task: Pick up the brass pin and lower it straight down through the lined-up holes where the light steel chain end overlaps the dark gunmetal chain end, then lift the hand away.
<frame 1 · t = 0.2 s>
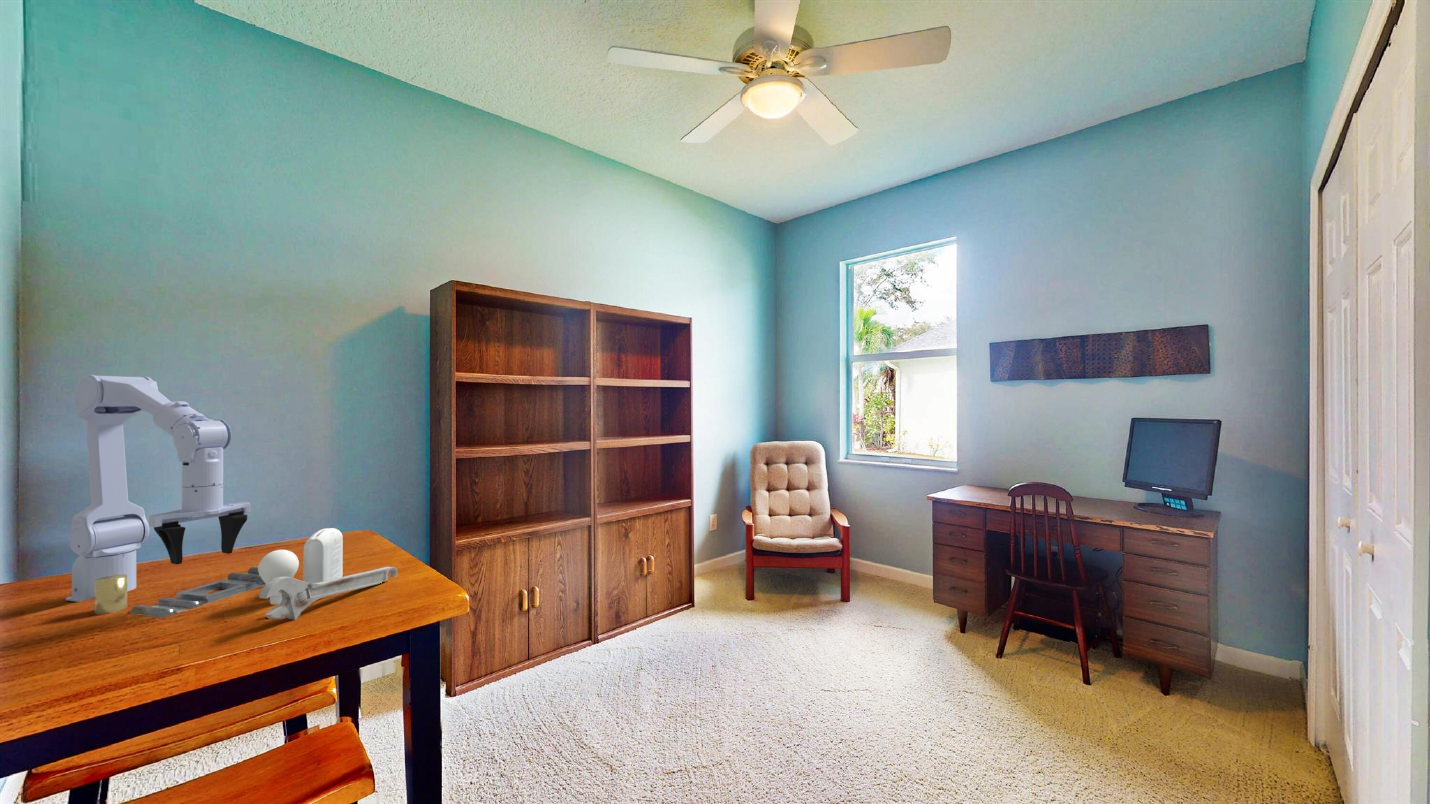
hand: (202, 558, 105), 10 cm above the table, tool pointing down, fingers open, 7 cm apart
brass pin: (111, 616, 102), on the table
gunmetal chain end: (215, 594, 111), on the table
photo printer: (323, 589, 118), on the table
lightbulb: (278, 609, 107), on the table
wrench: (337, 602, 111), on the table
steel chain end: (215, 600, 111), on the table
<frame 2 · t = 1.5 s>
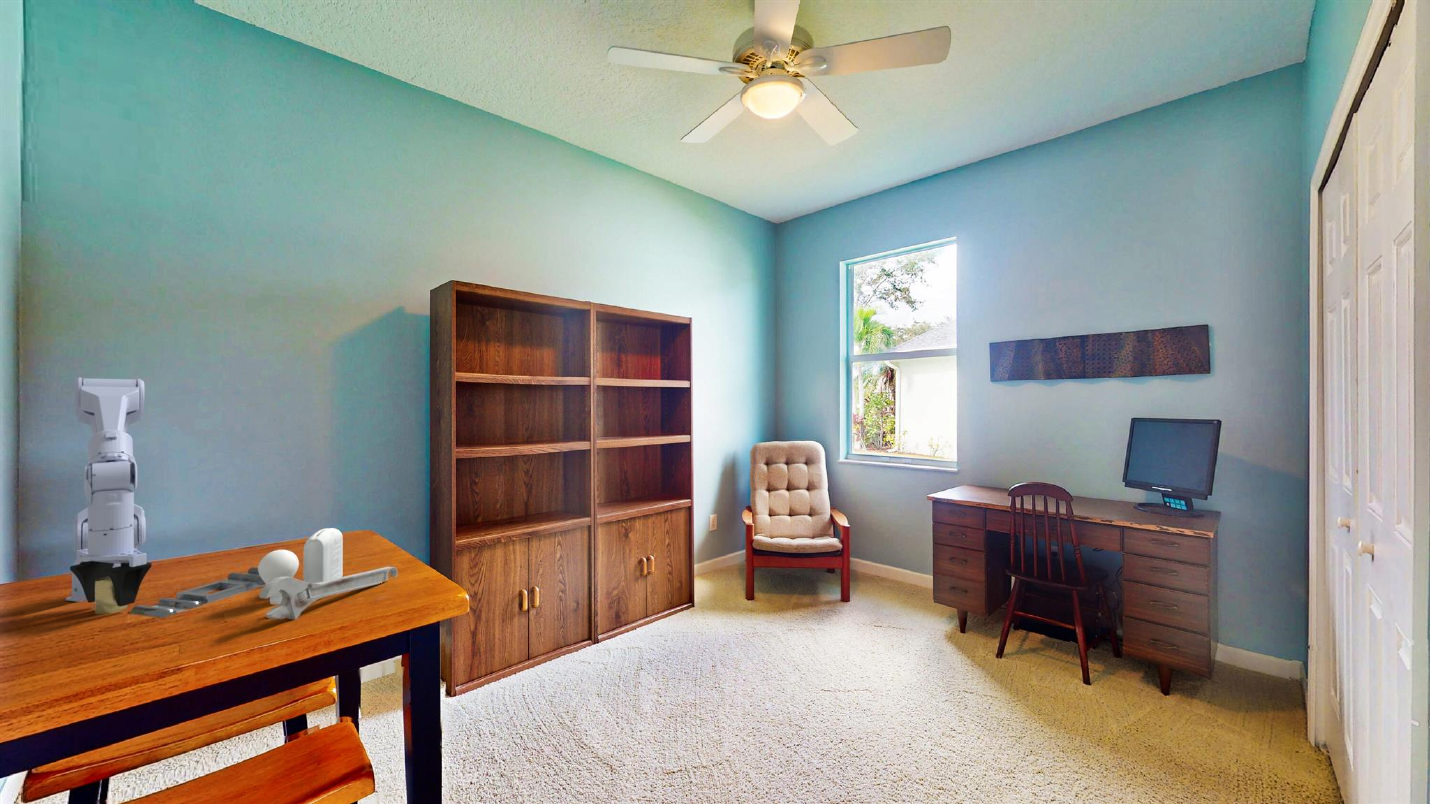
hand: (111, 602, 102), 3 cm above the table, tool pointing down, fingers open, 7 cm apart
nothing on the table moved.
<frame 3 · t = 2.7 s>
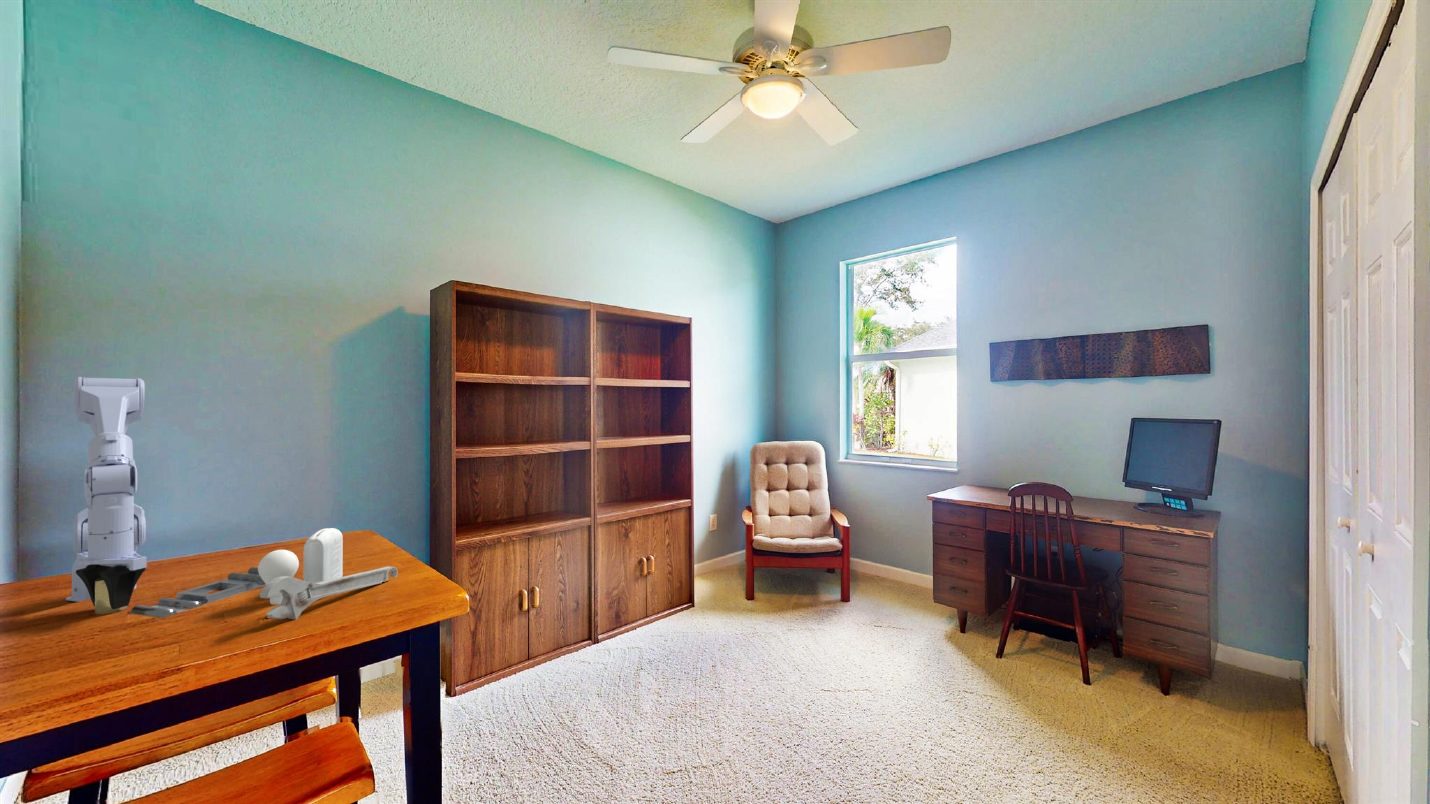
hand: (111, 606, 102), 2 cm above the table, tool pointing down, fingers closed on brass pin, 4 cm apart
brass pin: (111, 616, 102), on the table, touching gripper
everything else where it was.
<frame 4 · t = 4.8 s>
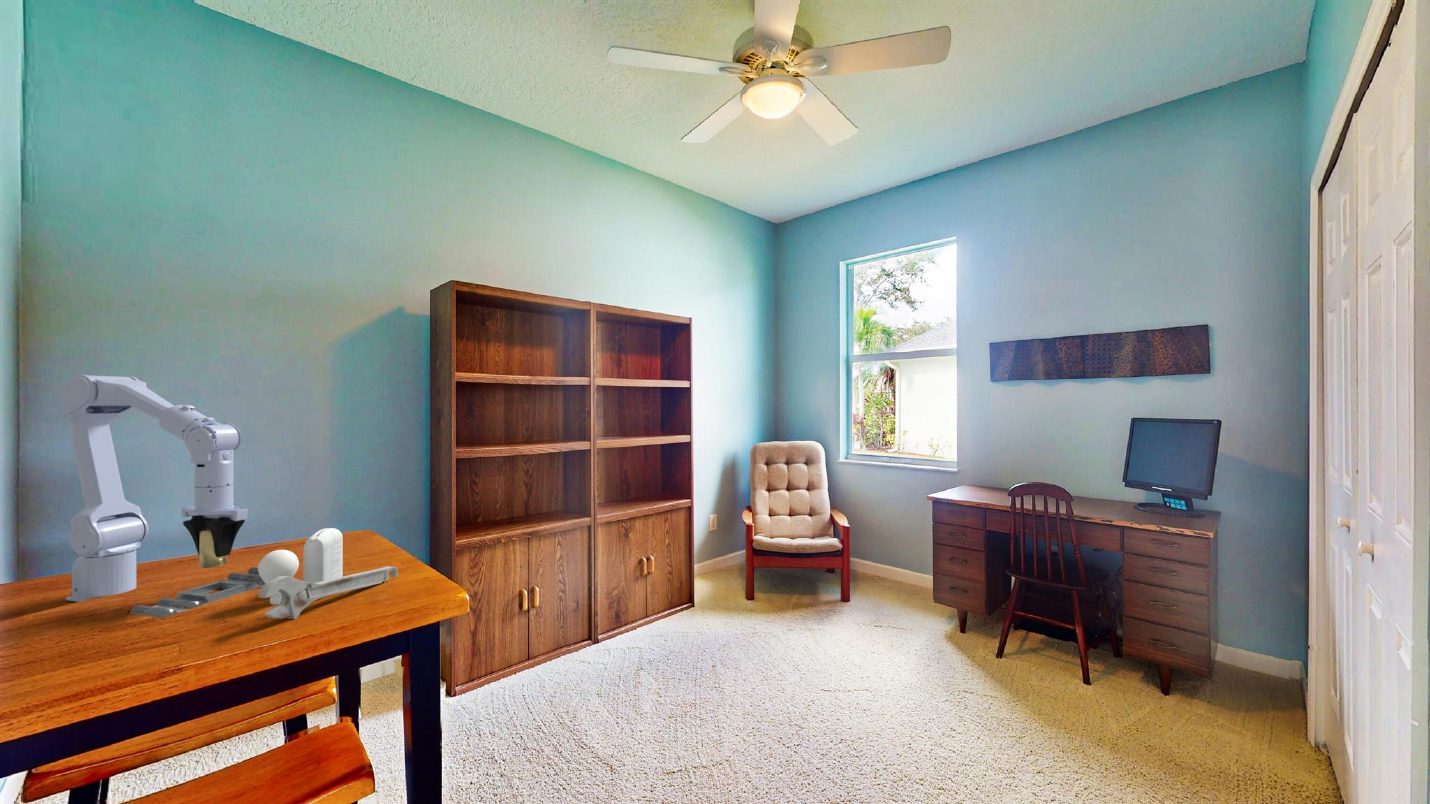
hand: (214, 555, 111), 9 cm above the table, tool pointing down, fingers closed on brass pin, 4 cm apart
brass pin: (213, 565, 110), point 7 cm above the table, touching gripper
everything else where it was.
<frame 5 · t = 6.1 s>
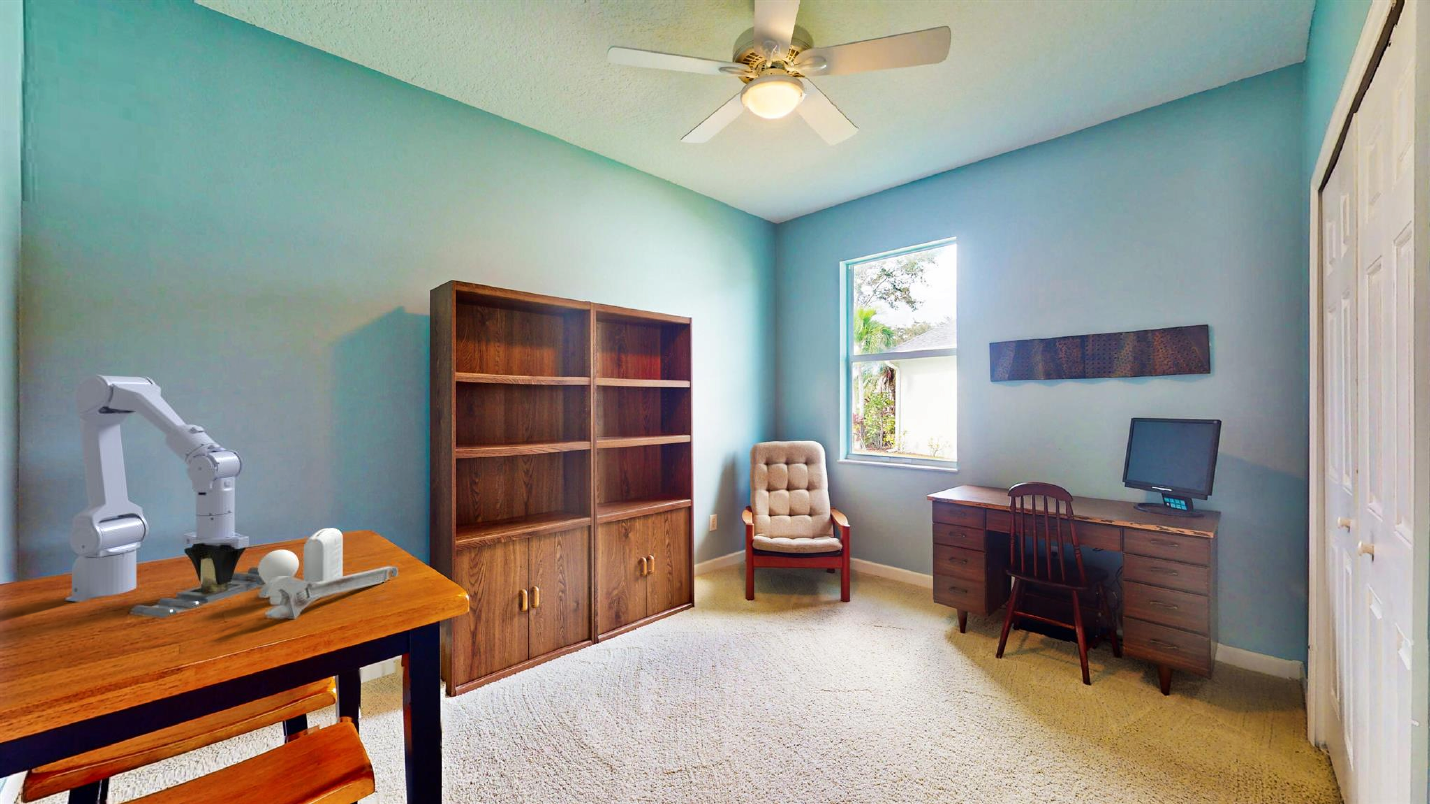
hand: (215, 582, 111), 4 cm above the table, tool pointing down, fingers closed on brass pin, 4 cm apart
brass pin: (214, 592, 111), point 2 cm above the table, touching gripper
everything else where it was.
when the fingers open (3 cm above the table, at t = 7.0 s): brass pin drops 2 cm, resting in gunmetal chain end.
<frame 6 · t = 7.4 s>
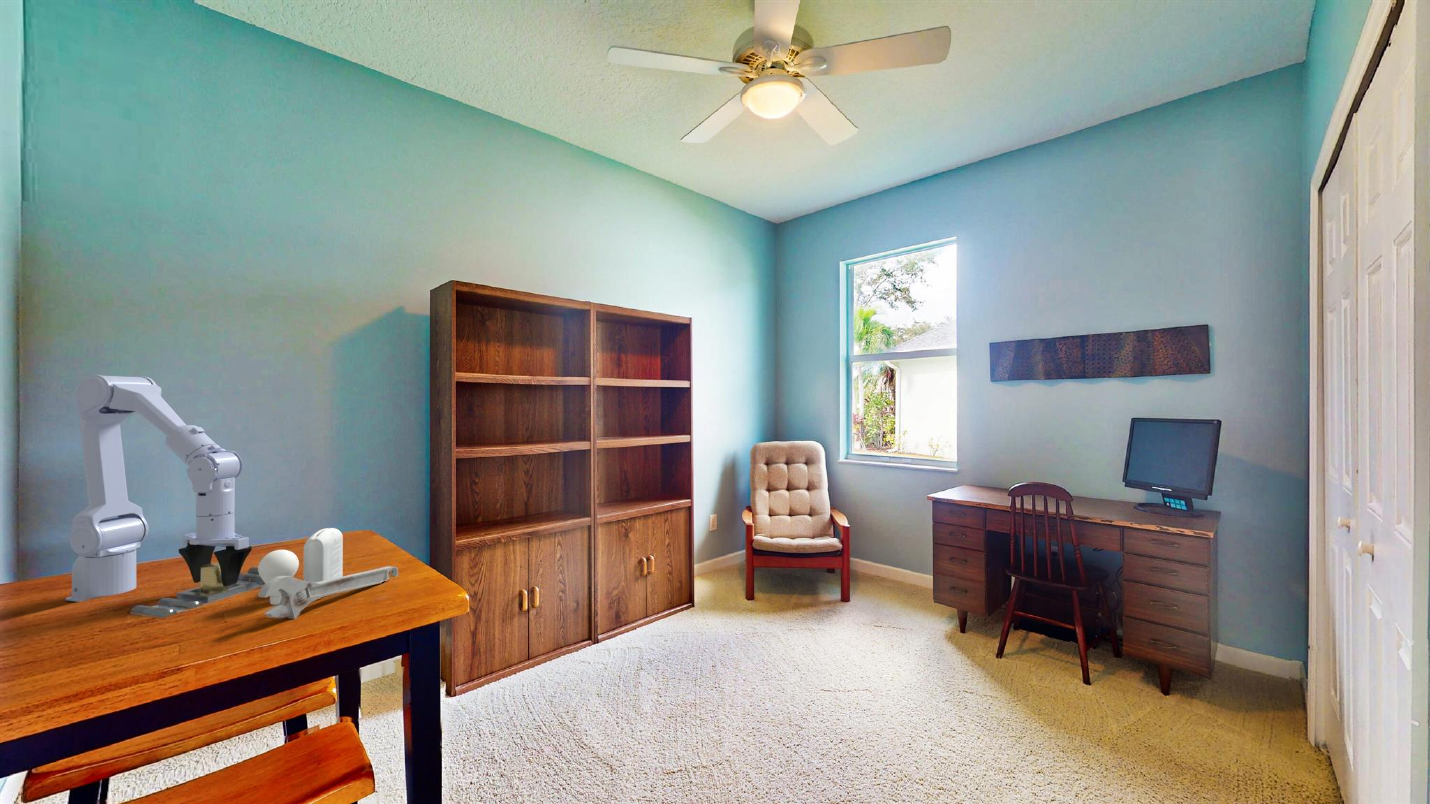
hand: (215, 582, 111), 3 cm above the table, tool pointing down, fingers open, 7 cm apart
brass pin: (214, 600, 111), resting in gunmetal chain end
everything else where it was.
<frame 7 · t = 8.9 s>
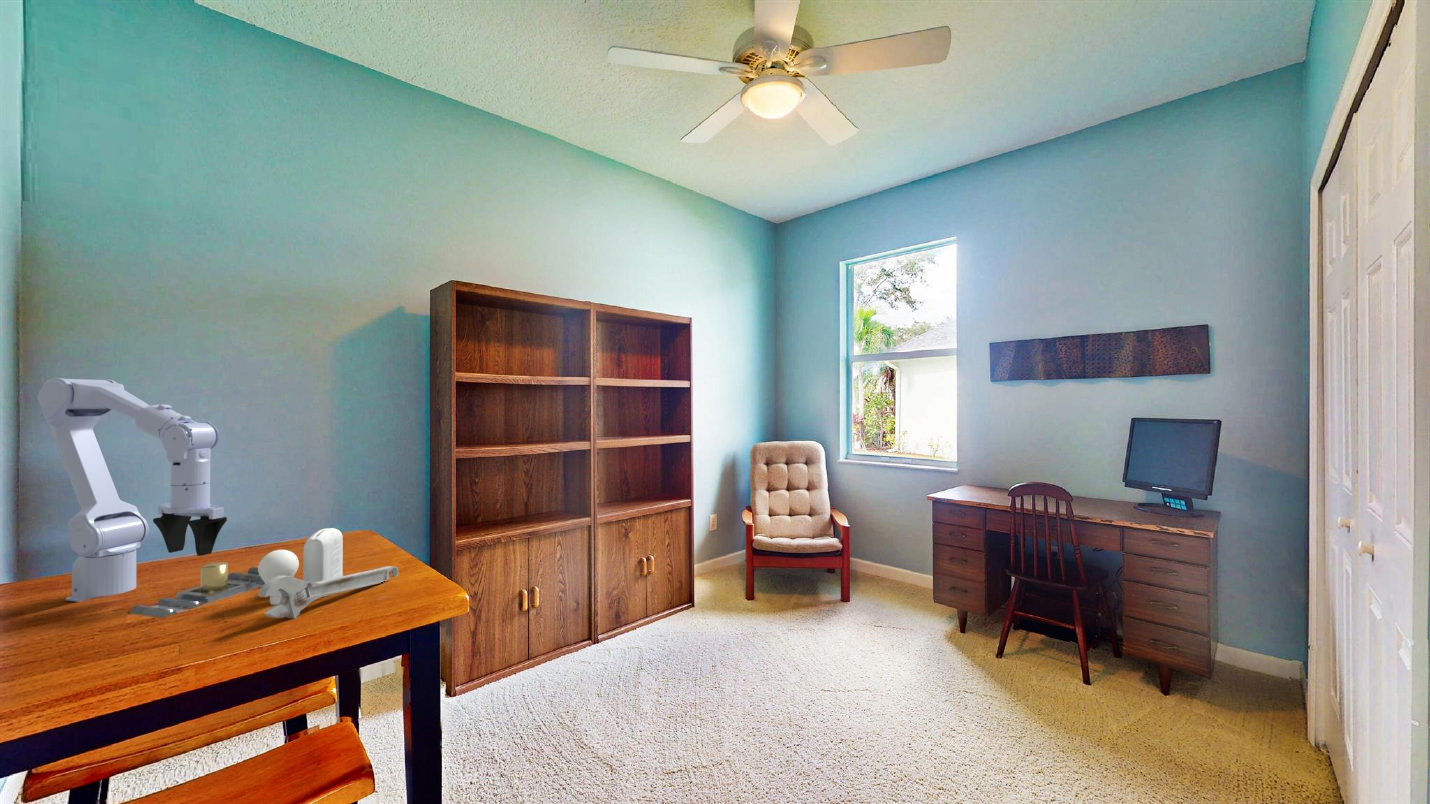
hand: (190, 553, 111), 9 cm above the table, tool pointing down, fingers open, 7 cm apart
nothing on the table moved.
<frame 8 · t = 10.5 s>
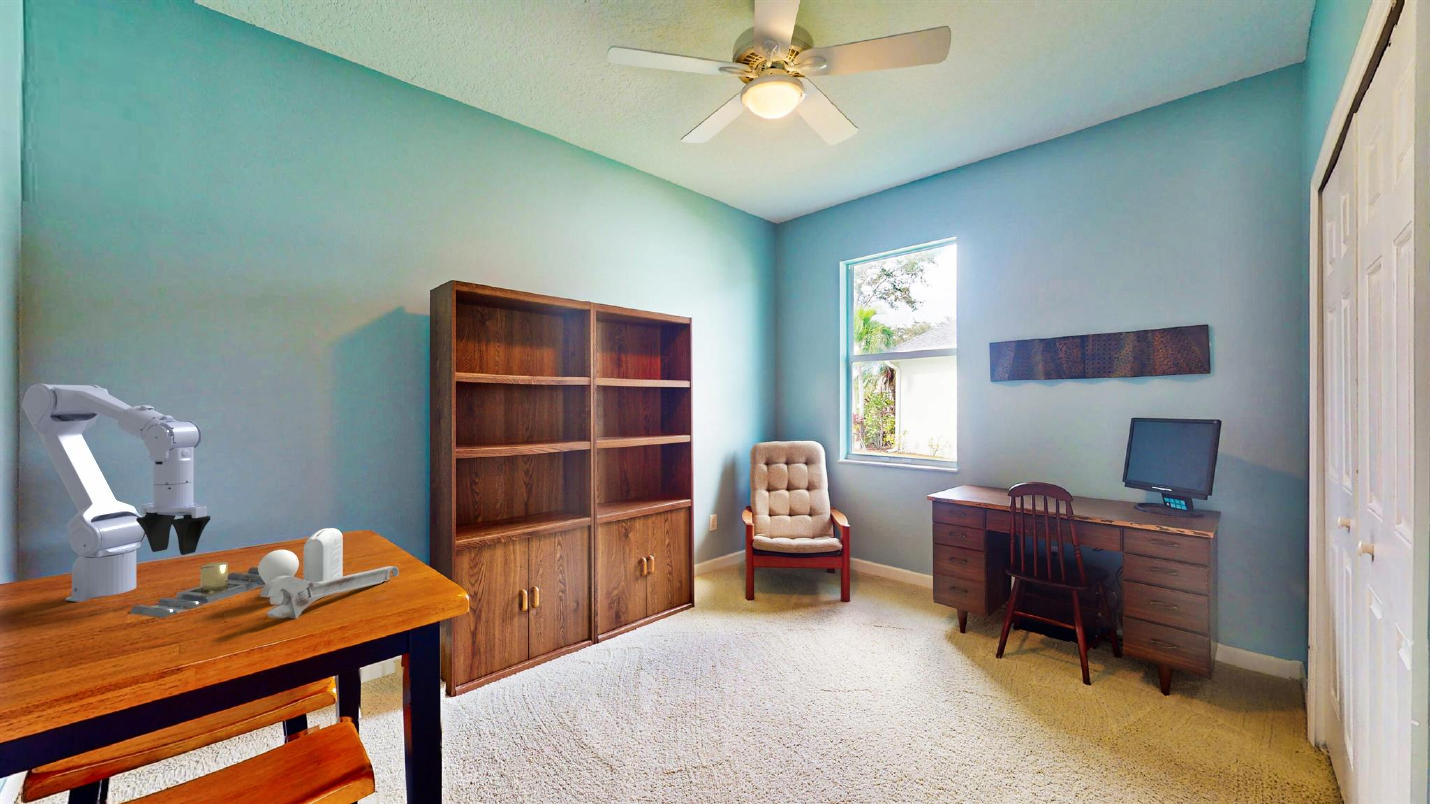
hand: (173, 552, 111), 9 cm above the table, tool pointing down, fingers open, 7 cm apart
nothing on the table moved.
at the end: brass pin 0.2 cm off-centre on the steel chain end, point 0.0 cm above the steel chain end's base; brass pin tilted 0°; the gripper is holding nothing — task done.
